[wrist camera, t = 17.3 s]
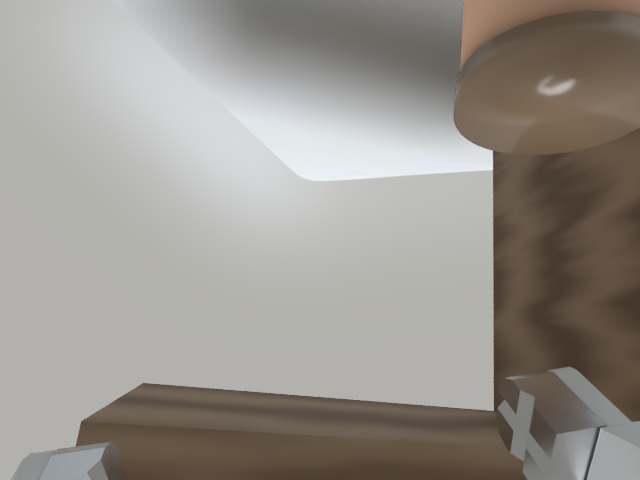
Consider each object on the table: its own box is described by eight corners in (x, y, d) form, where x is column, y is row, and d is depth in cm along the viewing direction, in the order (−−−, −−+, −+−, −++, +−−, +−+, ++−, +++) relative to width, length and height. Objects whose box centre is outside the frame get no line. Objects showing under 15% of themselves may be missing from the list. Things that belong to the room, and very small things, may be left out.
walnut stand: (206, -140, 20) (65, 491, 13) (661, 10, 25) (722, 510, 18) (208, 45, 32) (136, 418, 25) (513, 119, 37) (518, 442, 31)
